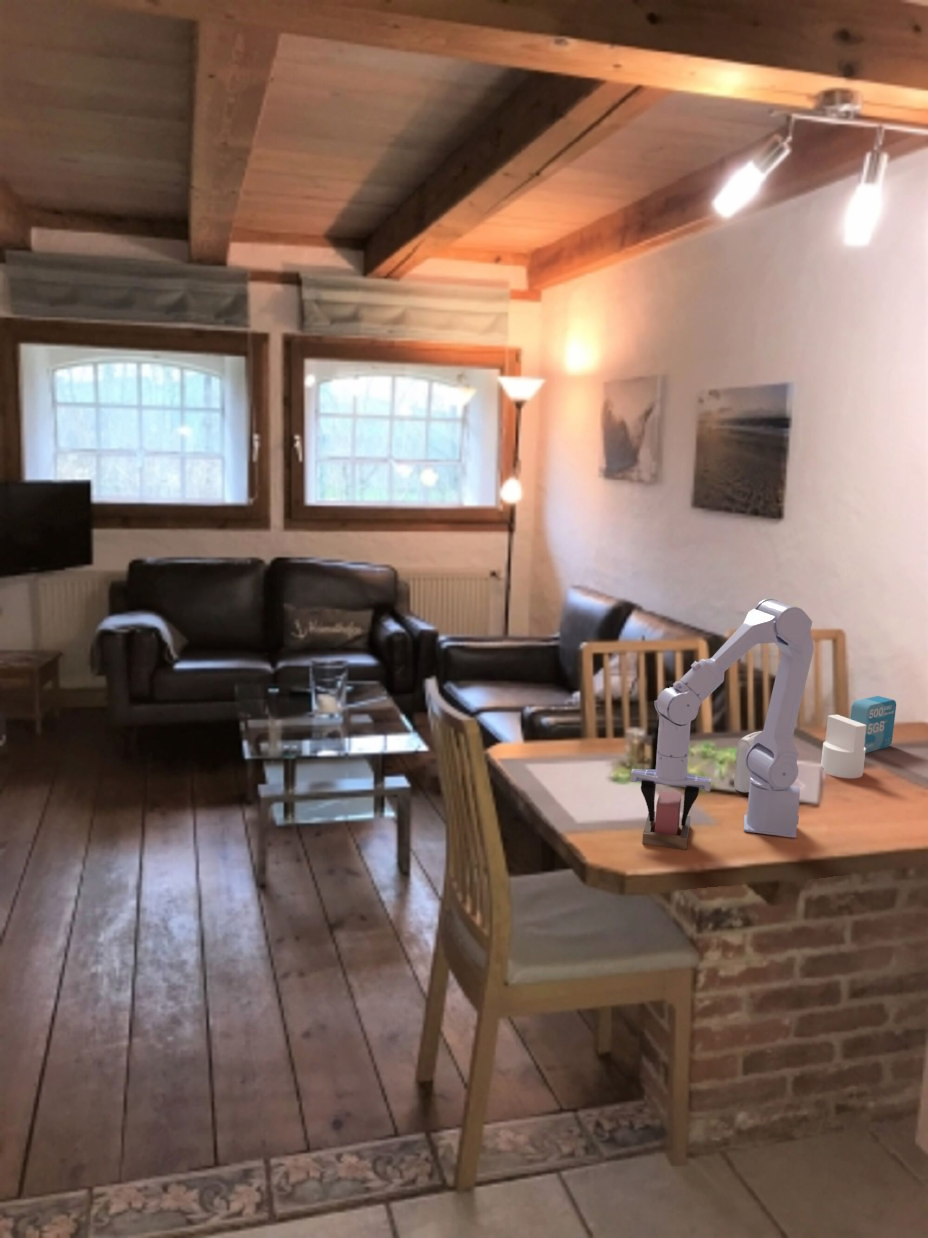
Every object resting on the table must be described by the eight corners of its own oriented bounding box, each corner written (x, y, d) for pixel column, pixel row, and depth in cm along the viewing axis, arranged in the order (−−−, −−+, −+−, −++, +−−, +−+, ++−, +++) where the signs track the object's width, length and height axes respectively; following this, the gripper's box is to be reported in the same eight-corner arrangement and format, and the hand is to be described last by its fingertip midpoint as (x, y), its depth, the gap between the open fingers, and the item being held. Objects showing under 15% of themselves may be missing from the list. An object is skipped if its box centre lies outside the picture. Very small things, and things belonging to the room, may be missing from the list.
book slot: (689, 826, 193) (690, 816, 193) (685, 849, 183) (686, 839, 182) (648, 820, 196) (649, 811, 195) (642, 843, 185) (642, 833, 184)
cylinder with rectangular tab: (812, 767, 229) (817, 716, 227) (841, 762, 233) (846, 713, 231) (841, 780, 222) (847, 728, 219) (871, 775, 225) (877, 724, 223)
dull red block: (679, 827, 193) (681, 792, 192) (675, 843, 185) (678, 807, 184) (657, 824, 194) (660, 790, 193) (654, 840, 186) (656, 805, 185)
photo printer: (762, 780, 220) (767, 726, 218) (778, 786, 216) (783, 731, 214) (730, 788, 214) (734, 733, 212) (745, 795, 211) (750, 738, 208)
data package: (862, 754, 240) (868, 705, 238) (846, 749, 244) (851, 701, 241) (891, 746, 247) (897, 699, 244) (875, 741, 250) (880, 694, 248)
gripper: (713, 750, 188) (708, 819, 191) (635, 741, 192) (631, 809, 195) (712, 762, 181) (706, 833, 184) (631, 753, 185) (626, 822, 188)
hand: (667, 821), depth 189 cm, fingers open, 5 cm apart
